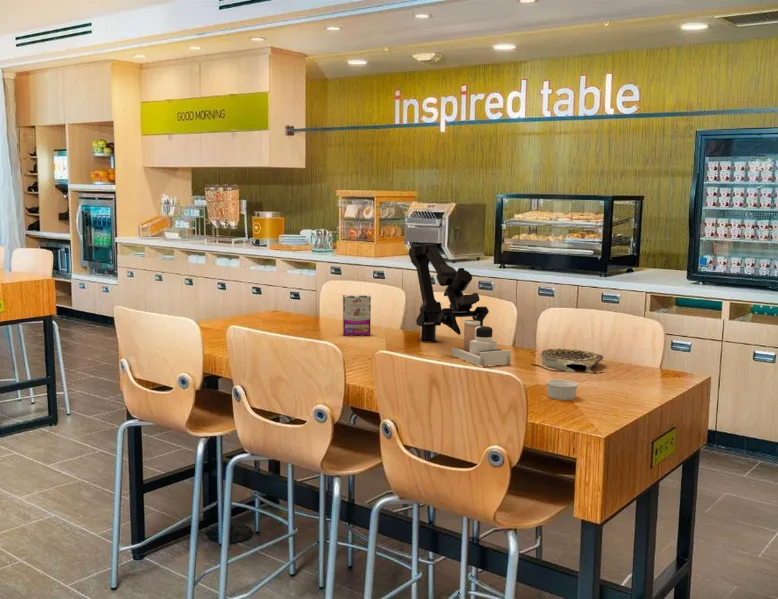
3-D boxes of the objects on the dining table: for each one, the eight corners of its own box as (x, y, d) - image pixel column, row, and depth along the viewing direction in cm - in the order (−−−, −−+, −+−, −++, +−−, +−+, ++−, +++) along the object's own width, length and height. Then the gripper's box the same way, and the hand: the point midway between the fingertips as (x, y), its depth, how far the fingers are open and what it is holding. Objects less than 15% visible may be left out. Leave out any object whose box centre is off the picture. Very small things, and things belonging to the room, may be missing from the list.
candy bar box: (368, 333, 325) (369, 294, 323) (370, 336, 320) (371, 296, 318) (341, 334, 324) (342, 294, 321) (343, 336, 319) (343, 296, 317)
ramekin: (572, 393, 234) (573, 379, 233) (580, 401, 225) (581, 386, 224) (542, 393, 234) (543, 378, 233) (549, 400, 225) (550, 386, 224)
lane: (451, 355, 284) (451, 342, 284) (479, 353, 289) (480, 340, 289) (480, 367, 266) (481, 352, 266) (510, 364, 271) (510, 350, 271)
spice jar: (464, 354, 287) (465, 319, 285) (480, 355, 285) (481, 320, 284) (461, 357, 281) (462, 321, 280) (477, 359, 280) (478, 322, 278)
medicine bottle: (496, 360, 277) (497, 326, 276) (487, 363, 271) (488, 329, 270) (478, 357, 281) (479, 324, 280) (468, 360, 275) (470, 326, 274)
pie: (517, 360, 282) (517, 346, 281) (581, 357, 292) (582, 343, 291) (560, 377, 256) (561, 362, 255) (630, 373, 266) (631, 359, 265)
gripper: (442, 286, 281) (457, 321, 273) (487, 284, 289) (502, 319, 281) (431, 304, 289) (445, 339, 281) (475, 302, 297) (489, 336, 289)
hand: (471, 333), depth 283 cm, fingers open, 9 cm apart
